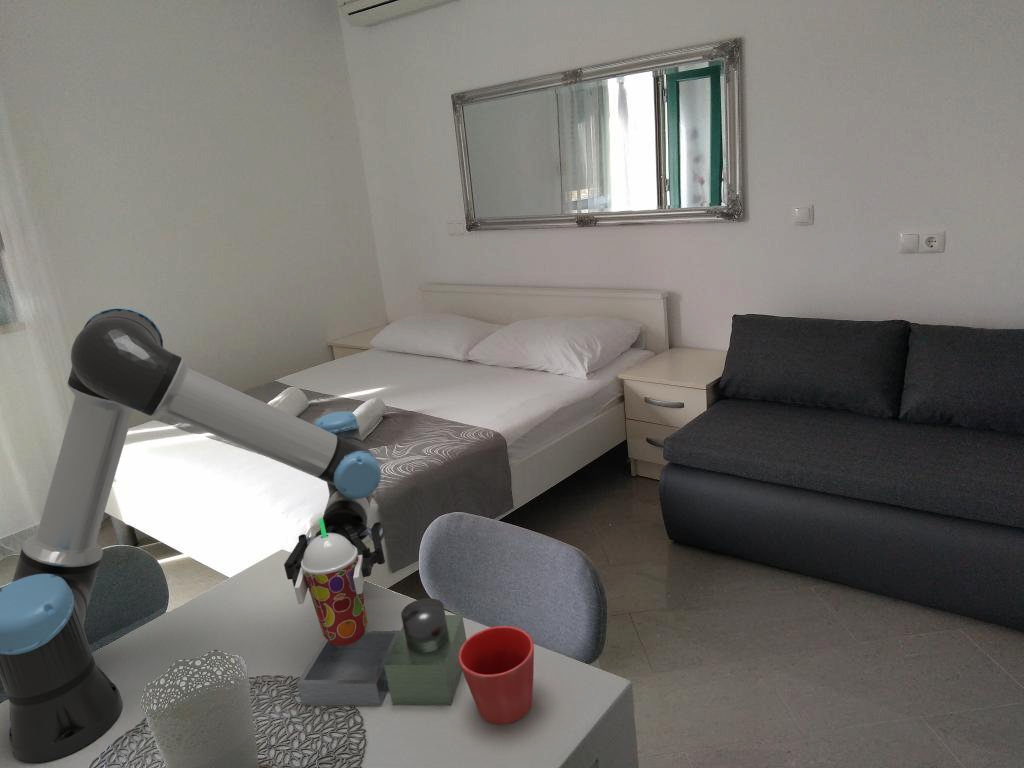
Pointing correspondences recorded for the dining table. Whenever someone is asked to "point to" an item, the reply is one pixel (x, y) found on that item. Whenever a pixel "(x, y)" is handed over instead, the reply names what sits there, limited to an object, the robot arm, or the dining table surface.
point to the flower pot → (499, 672)
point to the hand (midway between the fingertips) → (328, 590)
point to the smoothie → (334, 587)
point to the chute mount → (391, 663)
